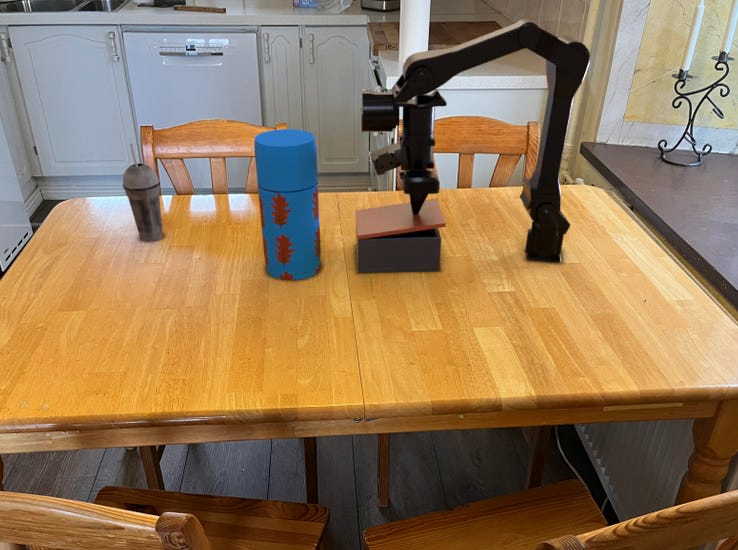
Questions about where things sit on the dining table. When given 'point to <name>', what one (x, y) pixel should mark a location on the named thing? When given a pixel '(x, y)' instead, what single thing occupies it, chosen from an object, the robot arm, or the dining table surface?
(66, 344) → the dining table surface
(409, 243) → the box
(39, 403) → the dining table surface
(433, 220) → the lid
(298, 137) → the thermos
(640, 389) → the dining table surface
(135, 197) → the beverage cup
